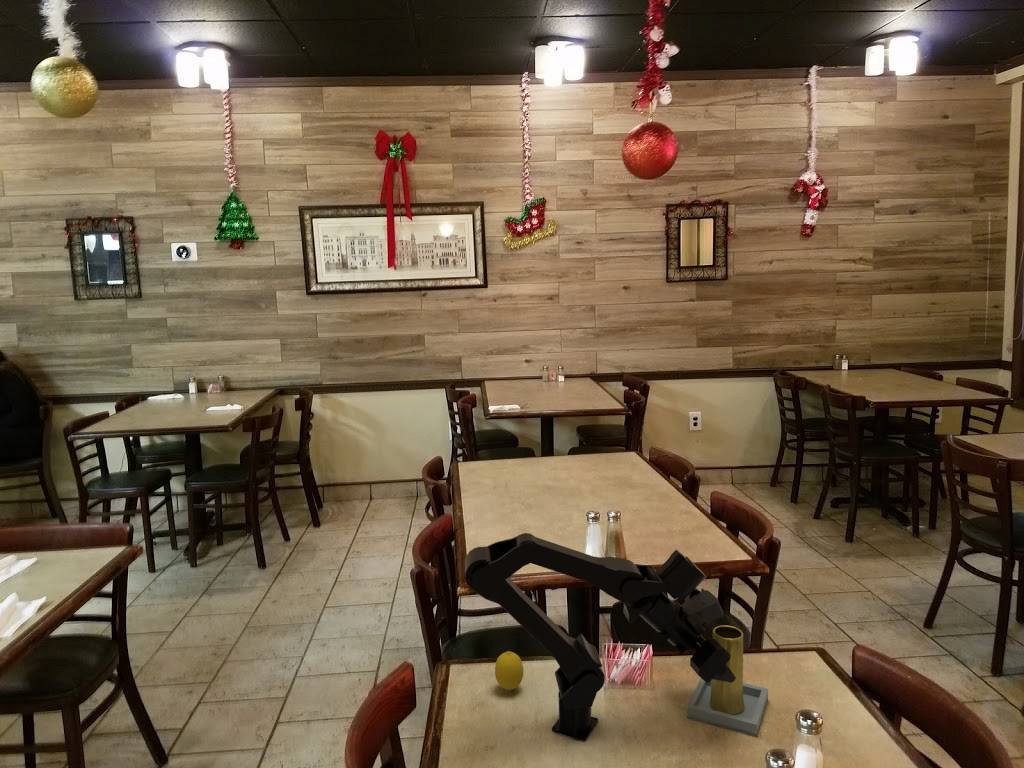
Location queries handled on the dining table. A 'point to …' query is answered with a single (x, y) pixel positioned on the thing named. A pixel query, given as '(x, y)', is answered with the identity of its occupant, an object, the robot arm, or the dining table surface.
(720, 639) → the vase
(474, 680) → the dining table surface
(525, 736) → the dining table surface
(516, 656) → the lemon
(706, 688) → the tray
